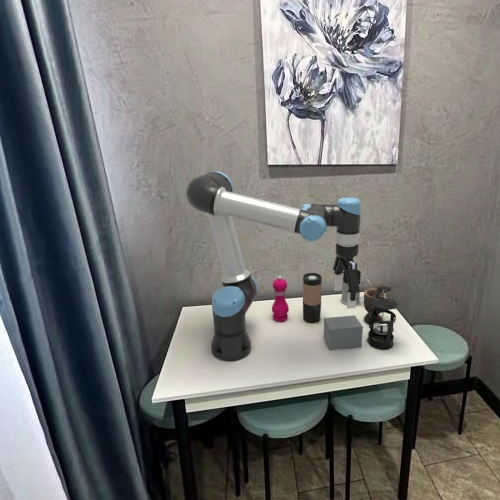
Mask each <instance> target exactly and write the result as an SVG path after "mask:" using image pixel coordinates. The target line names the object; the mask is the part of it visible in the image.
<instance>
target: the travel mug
mask: <svg viewBox="0 0 500 500" xmlns="http://www.w3.org/2000/svg"><path fill="white" fill-rule="evenodd" d="M322 280H323V279H322V275H321V274H319V273H315V272H309V273H308V272H307V273H304V274H303V277H302V317H303V318H302V319H303V321H304V322H305V323H307V324H317V323H319V322H320V321H321V312H322V282H323V281H322Z"/></svg>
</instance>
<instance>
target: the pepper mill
mask: <svg viewBox="0 0 500 500" xmlns="http://www.w3.org/2000/svg"><path fill="white" fill-rule="evenodd" d="M287 288H288V282H287V280H286V279H284V278H283V276H281V275H278V276H277V278H276V279H274V281H273V282H272V289H274V290H273V294H274V296H275V298H274V301H273V303H272V305H271V312H272V319H273V321H276V322H279V323H281V322H283V323H284V322H285V321H287V320H288V318H289V317H288V313H289V310H290V309H289V307H290V306H289V304H288V302H287V300H286V296H285V295H286V294H287V290H286V289H287Z"/></svg>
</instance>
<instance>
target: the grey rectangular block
mask: <svg viewBox="0 0 500 500" xmlns="http://www.w3.org/2000/svg"><path fill="white" fill-rule="evenodd" d="M363 332H364V326H363V325H362V323H361V321H360V320H359V319H358V318H357V316H356V315H354V314H353V315H344V316H343V315H342V316H332V317H324V318H323V340H324V342H325V344H326V346H327V348H328V349H329V350H328V351H340V350H341V351H342V350H351V349H361V348H362V346H363V343H362V342H363Z"/></svg>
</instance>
